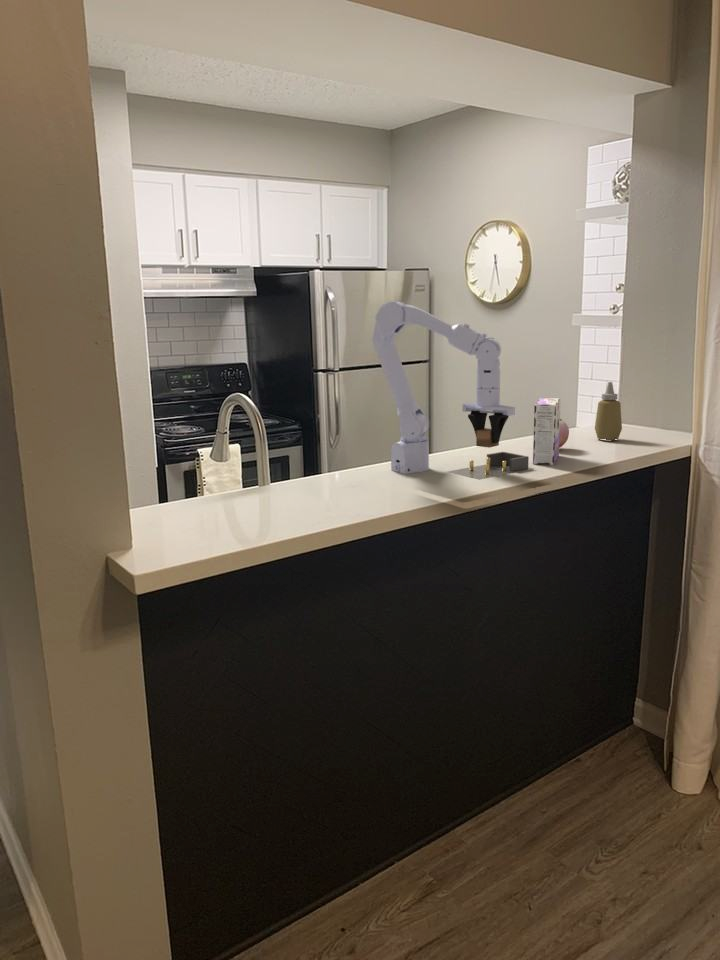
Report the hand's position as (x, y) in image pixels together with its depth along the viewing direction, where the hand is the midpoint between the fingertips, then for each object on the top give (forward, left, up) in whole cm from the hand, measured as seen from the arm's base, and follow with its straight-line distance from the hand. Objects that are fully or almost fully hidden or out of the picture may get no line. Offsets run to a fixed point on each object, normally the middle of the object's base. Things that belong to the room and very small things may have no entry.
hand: (487, 441), depth 196 cm
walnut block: (0, 0, -1) cm, 1 cm away
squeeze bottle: (+63, +13, -9) cm, 65 cm away
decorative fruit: (+39, +13, -9) cm, 42 cm away
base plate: (+1, 0, -9) cm, 9 cm away
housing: (+7, 0, -7) cm, 10 cm away
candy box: (+26, +4, -9) cm, 27 cm away
